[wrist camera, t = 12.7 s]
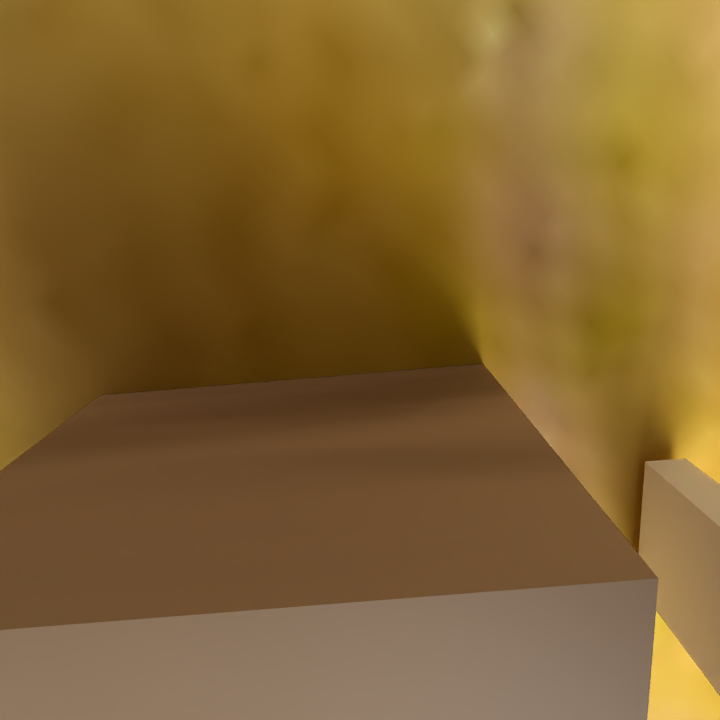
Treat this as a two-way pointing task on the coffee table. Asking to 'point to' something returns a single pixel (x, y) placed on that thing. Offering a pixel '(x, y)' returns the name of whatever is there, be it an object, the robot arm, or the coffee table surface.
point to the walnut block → (315, 561)
